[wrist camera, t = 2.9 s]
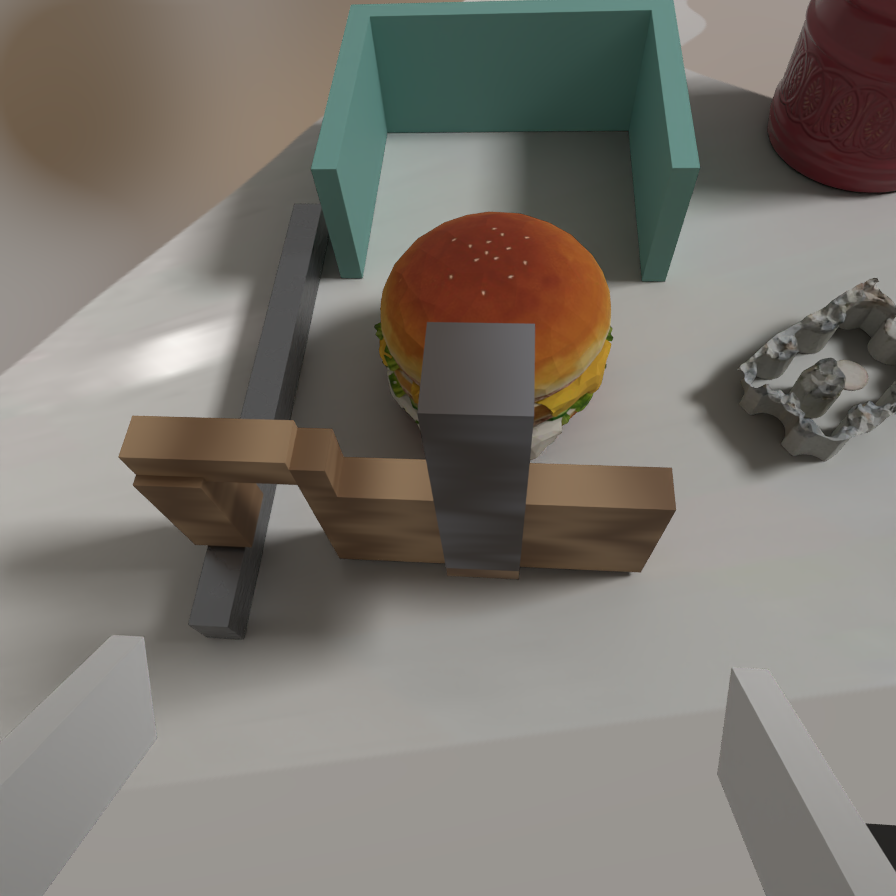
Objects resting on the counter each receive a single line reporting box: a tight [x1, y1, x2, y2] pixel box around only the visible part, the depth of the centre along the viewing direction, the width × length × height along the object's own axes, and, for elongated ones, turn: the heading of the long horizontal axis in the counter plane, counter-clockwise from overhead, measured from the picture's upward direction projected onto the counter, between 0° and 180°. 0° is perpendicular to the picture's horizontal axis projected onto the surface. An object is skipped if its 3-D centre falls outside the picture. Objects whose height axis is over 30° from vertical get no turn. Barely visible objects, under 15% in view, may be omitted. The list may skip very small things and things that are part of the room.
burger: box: [374, 212, 613, 460], centre depth 39 cm, size 13×14×10 cm
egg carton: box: [737, 278, 896, 461], centre depth 39 cm, size 11×8×4 cm
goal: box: [311, 0, 700, 281], centre depth 47 cm, size 22×17×9 cm
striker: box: [119, 322, 676, 579], centre depth 28 cm, size 23×6×20 cm, turn 86°
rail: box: [188, 204, 329, 639], centre depth 42 cm, size 2×30×2 cm, turn 176°
